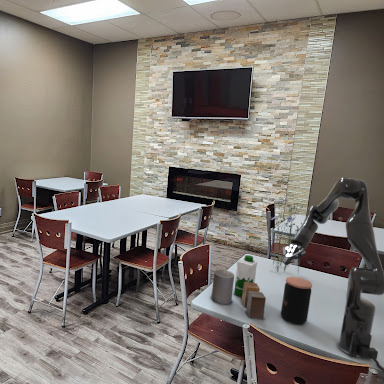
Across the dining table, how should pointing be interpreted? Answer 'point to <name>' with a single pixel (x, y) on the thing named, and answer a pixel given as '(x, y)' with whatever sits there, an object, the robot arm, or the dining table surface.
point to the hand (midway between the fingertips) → (285, 264)
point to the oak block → (246, 289)
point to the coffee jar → (296, 300)
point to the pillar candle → (222, 286)
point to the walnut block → (256, 304)
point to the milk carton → (244, 273)
